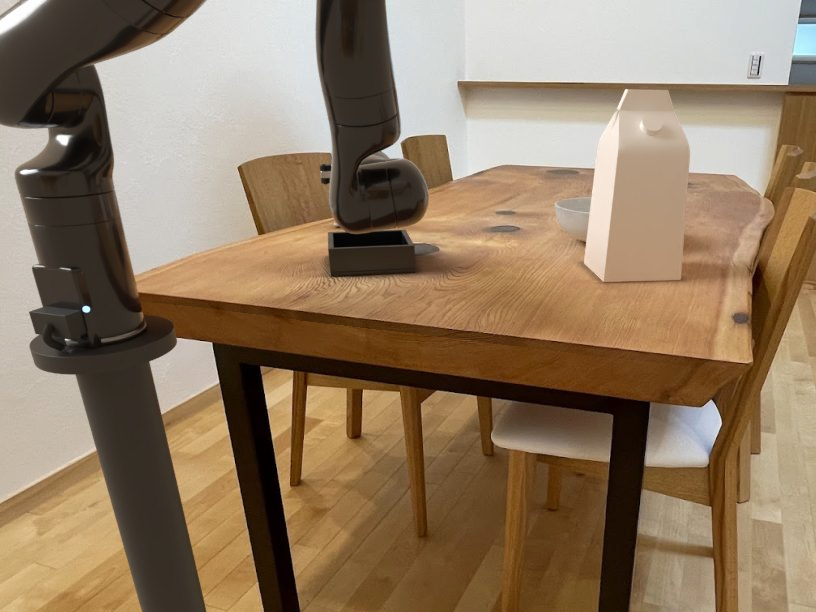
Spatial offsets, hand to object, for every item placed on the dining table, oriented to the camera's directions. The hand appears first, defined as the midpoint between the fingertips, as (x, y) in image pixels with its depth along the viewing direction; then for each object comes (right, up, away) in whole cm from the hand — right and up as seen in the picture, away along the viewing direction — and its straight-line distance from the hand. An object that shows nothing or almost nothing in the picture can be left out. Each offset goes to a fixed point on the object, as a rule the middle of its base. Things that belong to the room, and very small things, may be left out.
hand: (364, 167), depth 102 cm
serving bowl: (+41, -7, +21) cm, 46 cm away
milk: (+41, -16, +2) cm, 44 cm away
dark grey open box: (0, -14, +3) cm, 15 cm away
